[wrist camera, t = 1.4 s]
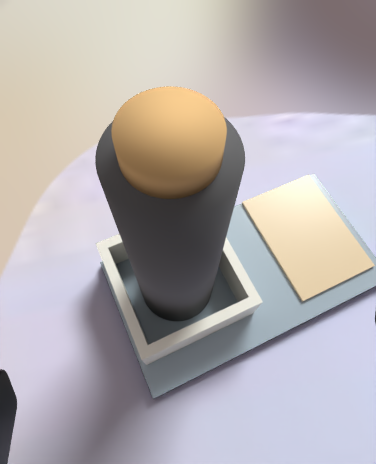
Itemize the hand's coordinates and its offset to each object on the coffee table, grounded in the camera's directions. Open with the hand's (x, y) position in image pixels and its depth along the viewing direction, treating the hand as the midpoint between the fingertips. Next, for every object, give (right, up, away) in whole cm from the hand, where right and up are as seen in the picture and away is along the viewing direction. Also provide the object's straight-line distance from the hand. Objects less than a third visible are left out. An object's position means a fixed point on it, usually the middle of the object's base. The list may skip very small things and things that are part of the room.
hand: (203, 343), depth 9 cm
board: (+3, 0, +13) cm, 13 cm away
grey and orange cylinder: (-1, 0, +12) cm, 12 cm away
